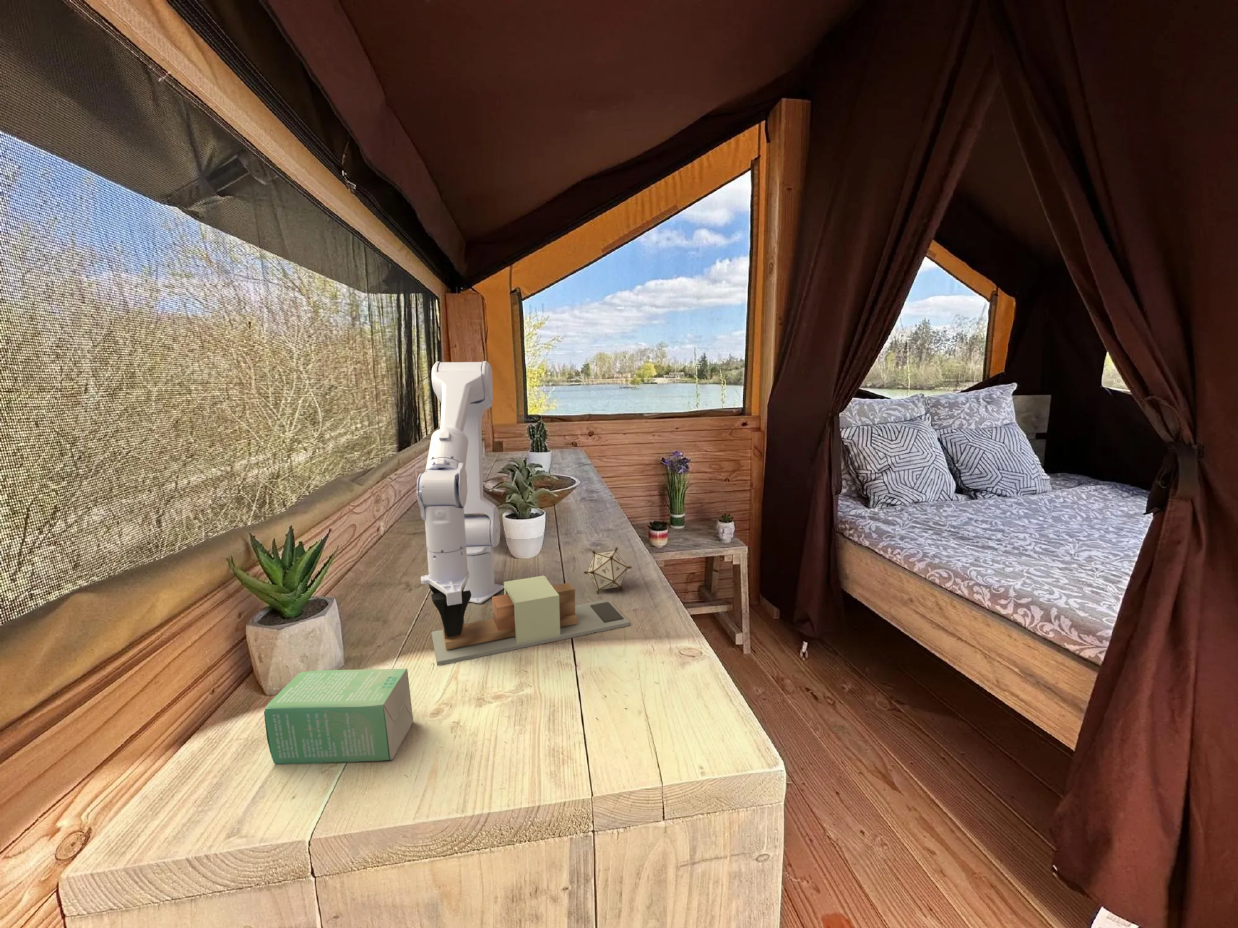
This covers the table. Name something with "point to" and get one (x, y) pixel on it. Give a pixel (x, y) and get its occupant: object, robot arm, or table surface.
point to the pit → (606, 612)
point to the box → (339, 716)
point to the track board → (585, 625)
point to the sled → (508, 620)
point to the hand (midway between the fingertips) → (452, 629)
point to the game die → (607, 570)
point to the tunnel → (534, 608)
